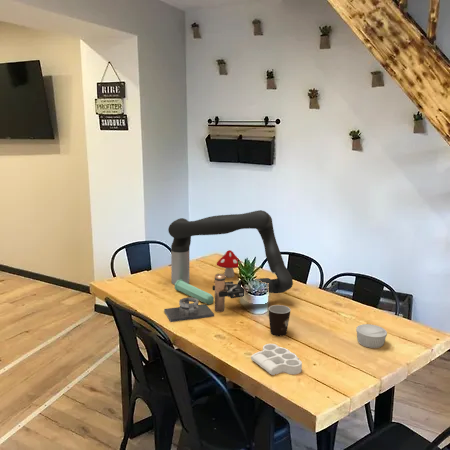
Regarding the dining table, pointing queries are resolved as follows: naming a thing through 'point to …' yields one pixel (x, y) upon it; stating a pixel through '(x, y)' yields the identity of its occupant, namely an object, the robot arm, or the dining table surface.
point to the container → (194, 292)
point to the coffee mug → (279, 319)
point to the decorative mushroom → (228, 263)
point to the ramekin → (371, 335)
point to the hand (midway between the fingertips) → (215, 291)
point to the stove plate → (181, 317)
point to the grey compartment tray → (277, 360)
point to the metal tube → (218, 288)
